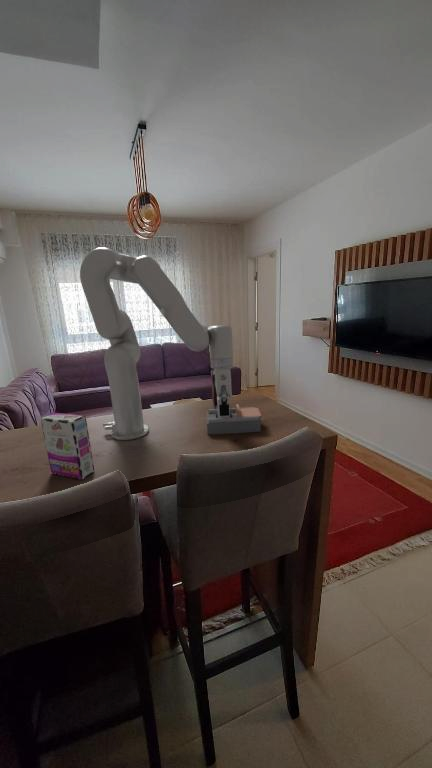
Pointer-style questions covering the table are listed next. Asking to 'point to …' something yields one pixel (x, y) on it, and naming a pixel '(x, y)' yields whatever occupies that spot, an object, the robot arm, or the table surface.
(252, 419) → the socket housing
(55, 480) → the table surface
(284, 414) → the table surface
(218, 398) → the plug
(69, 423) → the candy bar box
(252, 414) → the shutter
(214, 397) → the supplement box
